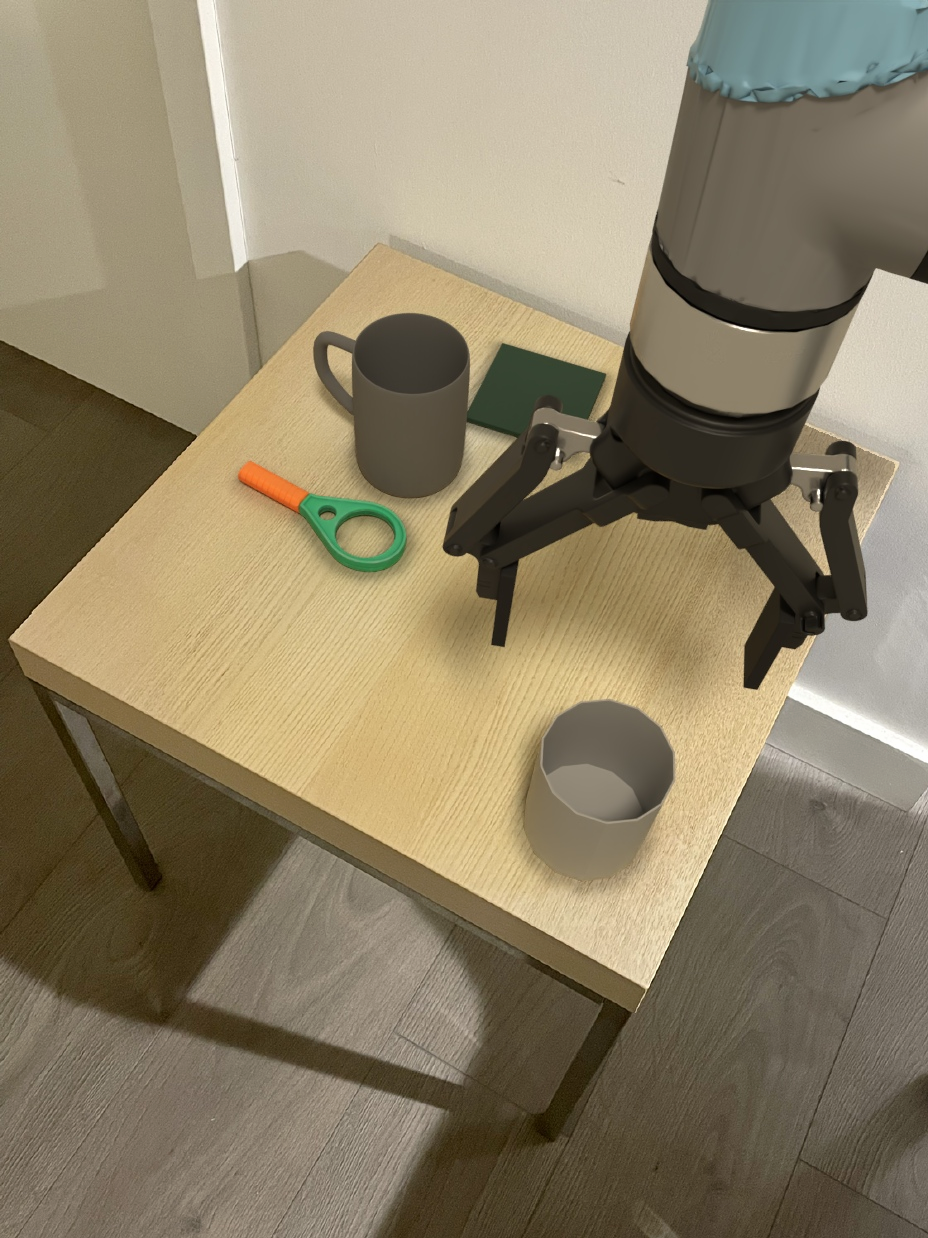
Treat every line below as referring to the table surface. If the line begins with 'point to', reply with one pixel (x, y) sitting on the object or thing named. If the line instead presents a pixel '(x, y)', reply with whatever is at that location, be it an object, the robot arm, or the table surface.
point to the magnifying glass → (327, 529)
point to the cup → (597, 788)
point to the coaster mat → (531, 389)
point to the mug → (404, 400)
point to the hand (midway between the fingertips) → (625, 646)
